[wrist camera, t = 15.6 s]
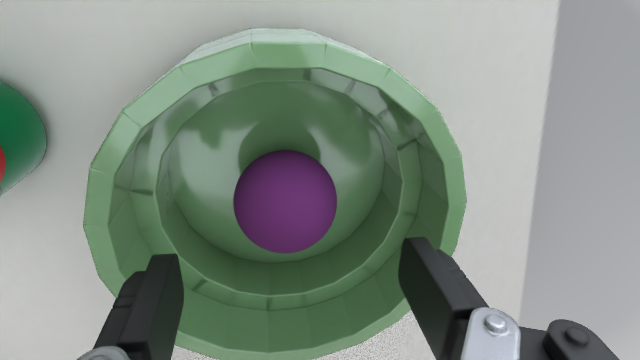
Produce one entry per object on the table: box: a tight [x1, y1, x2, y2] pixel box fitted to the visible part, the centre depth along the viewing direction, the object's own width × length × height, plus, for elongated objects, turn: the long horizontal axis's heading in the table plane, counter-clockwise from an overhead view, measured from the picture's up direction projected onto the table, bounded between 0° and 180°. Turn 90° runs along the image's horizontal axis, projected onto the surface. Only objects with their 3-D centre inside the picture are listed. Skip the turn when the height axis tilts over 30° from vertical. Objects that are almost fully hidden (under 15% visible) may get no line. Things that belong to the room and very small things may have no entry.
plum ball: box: [233, 150, 337, 254], centre depth 17 cm, size 5×5×5 cm
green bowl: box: [83, 28, 467, 360], centre depth 17 cm, size 15×15×6 cm
